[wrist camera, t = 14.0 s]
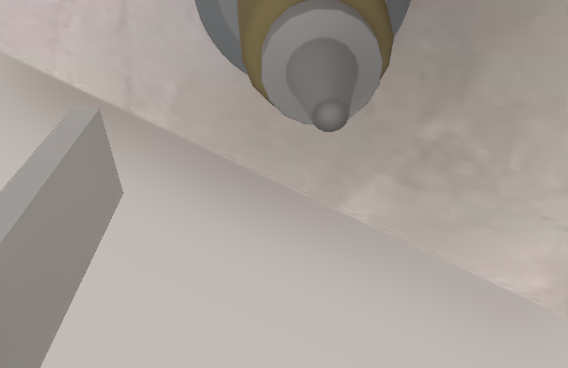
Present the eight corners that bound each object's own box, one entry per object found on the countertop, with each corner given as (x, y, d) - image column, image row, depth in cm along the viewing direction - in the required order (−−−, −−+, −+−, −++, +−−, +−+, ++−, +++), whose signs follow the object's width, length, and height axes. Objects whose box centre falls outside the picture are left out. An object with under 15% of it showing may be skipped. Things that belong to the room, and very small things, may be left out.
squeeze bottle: (365, -99, 27) (472, -49, 12) (371, 39, 31) (454, 200, 16) (227, -74, 27) (166, 3, 12) (253, 58, 32) (231, 228, 17)
